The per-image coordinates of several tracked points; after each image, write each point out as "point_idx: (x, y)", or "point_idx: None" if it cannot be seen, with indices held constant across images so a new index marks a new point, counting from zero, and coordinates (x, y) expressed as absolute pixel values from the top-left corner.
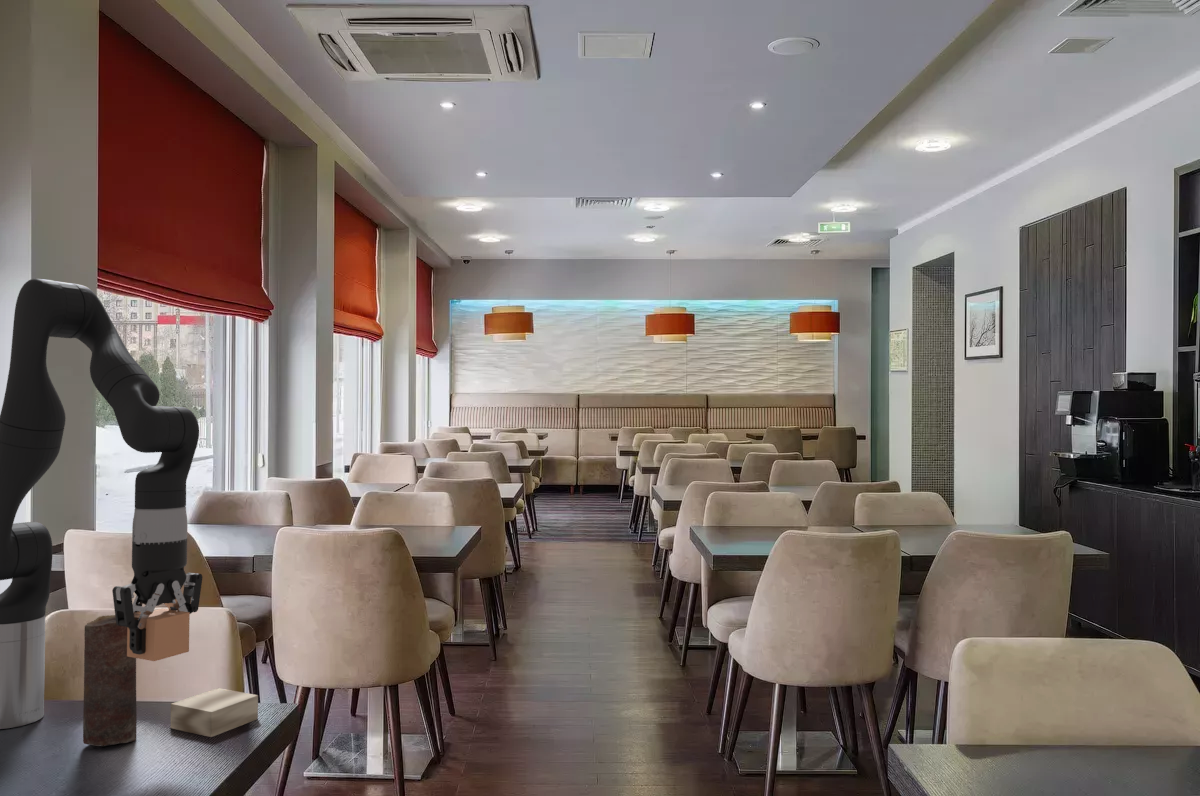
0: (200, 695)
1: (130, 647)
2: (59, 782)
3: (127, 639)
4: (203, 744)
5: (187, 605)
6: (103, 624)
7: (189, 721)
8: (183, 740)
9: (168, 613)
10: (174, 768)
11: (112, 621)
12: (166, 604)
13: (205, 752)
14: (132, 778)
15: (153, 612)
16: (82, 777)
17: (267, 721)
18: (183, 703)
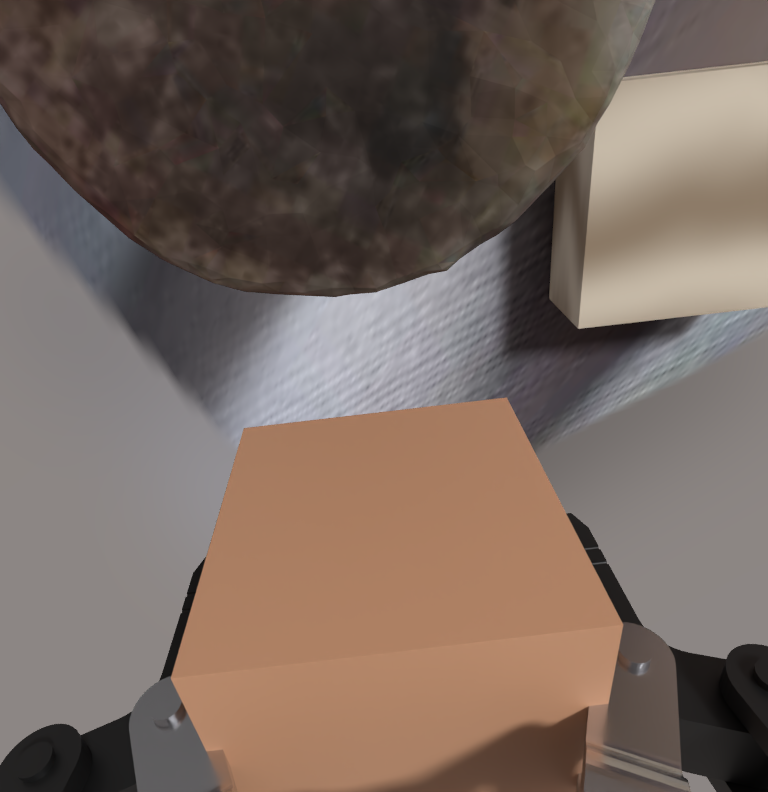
0: (737, 91)
1: (197, 576)
2: (91, 254)
3: (222, 505)
4: (496, 329)
5: (737, 761)
6: (88, 175)
7: (568, 201)
8: (493, 247)
9: (477, 786)
10: (344, 415)
11: (202, 207)
12: (582, 778)
13: (456, 385)
14: (245, 390)
15: (435, 700)
16: (153, 274)
17: (722, 319)
18: (621, 134)
